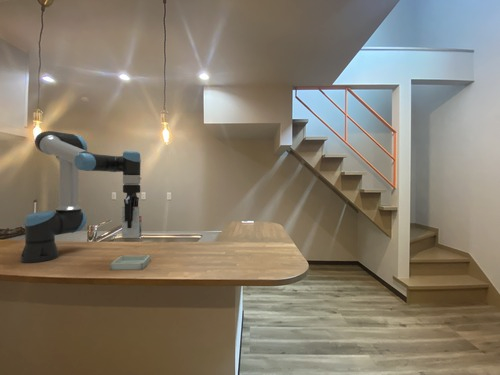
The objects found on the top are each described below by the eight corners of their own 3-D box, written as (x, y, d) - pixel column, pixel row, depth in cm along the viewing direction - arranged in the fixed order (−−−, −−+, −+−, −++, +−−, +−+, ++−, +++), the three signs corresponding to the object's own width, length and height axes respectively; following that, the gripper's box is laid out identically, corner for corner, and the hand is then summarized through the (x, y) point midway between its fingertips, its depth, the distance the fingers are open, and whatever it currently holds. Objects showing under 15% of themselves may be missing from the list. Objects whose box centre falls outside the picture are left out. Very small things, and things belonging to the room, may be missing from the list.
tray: (110, 270, 118) (110, 263, 118) (121, 261, 131) (121, 255, 131) (142, 269, 120) (142, 263, 120) (150, 260, 133) (150, 255, 133)
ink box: (124, 236, 127) (124, 206, 126) (141, 236, 127) (141, 206, 127) (121, 238, 123) (121, 206, 123) (139, 238, 124) (139, 206, 123)
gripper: (134, 184, 117) (134, 237, 117) (145, 184, 133) (145, 230, 134) (116, 184, 116) (116, 237, 116) (129, 184, 132) (129, 230, 133)
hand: (131, 233), depth 125 cm, fingers closed on ink box, 4 cm apart
